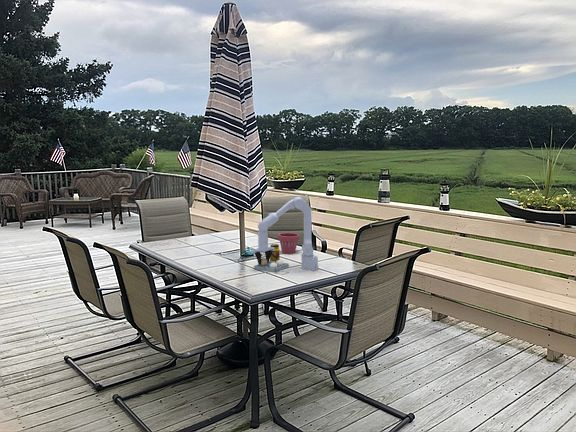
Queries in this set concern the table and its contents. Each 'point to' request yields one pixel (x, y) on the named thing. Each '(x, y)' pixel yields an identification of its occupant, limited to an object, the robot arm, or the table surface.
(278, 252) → the condiment
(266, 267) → the egg tray
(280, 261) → the white egg near
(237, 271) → the table surface
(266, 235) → the robot arm
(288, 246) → the plant pot
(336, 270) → the table surface
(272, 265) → the white egg left
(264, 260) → the brown egg
